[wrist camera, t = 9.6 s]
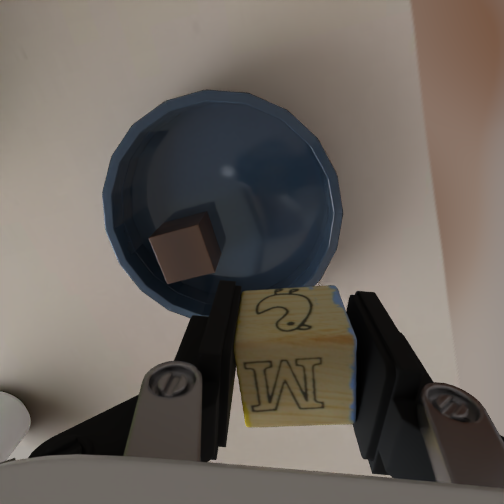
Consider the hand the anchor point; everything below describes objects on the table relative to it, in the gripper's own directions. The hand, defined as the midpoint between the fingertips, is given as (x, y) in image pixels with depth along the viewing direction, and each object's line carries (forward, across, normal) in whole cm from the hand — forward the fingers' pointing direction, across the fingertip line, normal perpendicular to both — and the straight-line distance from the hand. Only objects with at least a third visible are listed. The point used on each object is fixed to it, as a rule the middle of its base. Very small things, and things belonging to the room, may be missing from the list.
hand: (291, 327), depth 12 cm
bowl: (+15, +4, 0) cm, 16 cm away
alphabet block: (0, 0, 0) cm, 0 cm away
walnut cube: (+15, +6, +2) cm, 16 cm away
